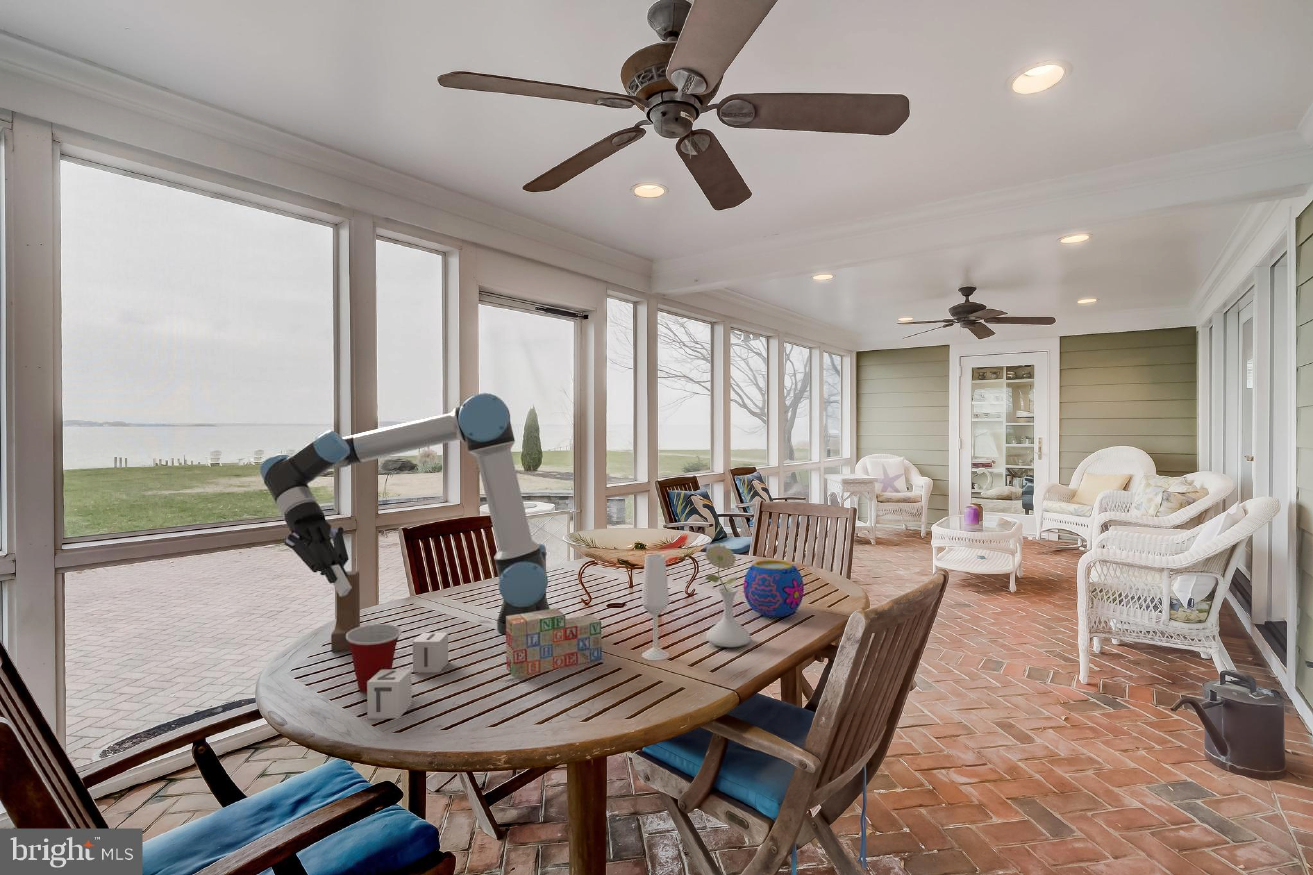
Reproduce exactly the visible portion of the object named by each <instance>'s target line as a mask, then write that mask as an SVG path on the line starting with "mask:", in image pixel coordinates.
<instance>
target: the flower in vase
mask: <svg viewBox="0 0 1313 875" xmlns="http://www.w3.org/2000/svg"><path fill="white" fill-rule="evenodd" d="M734 553H735V552H734V551H733V550H731V548H727V546H726V545H725V544H724V545H720V544H718V543H717V545H716V544H713V545H711V546H708V548H706V551H705V554H704V556H705V557H706V560H707V561H709V562H708V563H709V564H710V565H712V566H714V567H717V575H715V574H712V573H711V574H708V575H707V576H706V577H705V578H704V580H706V581H708V582H709V581H710V582H711V583H712V582H713V583H718V582H719V581H720V582H721V585H722V586H723V587H720V588H718V589H717V591H718V592H719V593H720V595H721V597H722V603H723V616H722V619H720V621H719V622H718V623H716V624H714V626H712V627H711V628H710V629H709V630H708V631H707V632H706V635H705V638H706V640H707V641H708V643H710V644H712V645H714V646H718V647H722V648H739V647H742V646H743V647H744V645H747V644H749V643H750V641H751V639H752V636H751V633H750V632H749V631H748V629H746V628H745V627H744V626H743V625H741V624H740V623H739V622H737V620H736V619H735V617H734V614H733V607H734V600H735V596H736V594H737V593H738V592H739V589H738V588H736V587H731V586H730V587H729V586H726V585H730V584H732V583H735V581H736V580H737V579H738V577H739V576H738V575H737V576H736V577H732V578H730V579H728V580H727V581H726V582H723V580H722V578H721V577H720V576H721V575H720V569H723V570H725V569H730V568H731V567H734V566H735V563H736V561H737V559H736V555H735V554H734Z"/></svg>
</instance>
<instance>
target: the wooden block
mask: <svg viewBox="0 0 1313 875" xmlns="http://www.w3.org/2000/svg"><path fill="white" fill-rule="evenodd" d="M345 571H346V573H347V574H348V577H347V580H348V582H349V584H350V585H351V587H352V588H351V589H350V591H349V592H348V594H347V595H345V596H341V597H340V596H339V594H338V592H337V590H336V589H335V590H336V593H335V594H336V619H335V620H336V622H335V625H334V629H333V631H332V633H331V636H330V640H331V641H330V642H331V643H330V645H331V648H330V650H331V652H342V651H343V652H345V651H350V646H349V643H348V641H347V640H346V634H347V633H348V632H349V631H351V630H353V629H355V628H358V627H361V609H360V608H361V607H360V605H361V603H360V601H361V600H360V599H361V598H360V571H359V570H349V571H347V570H345Z"/></svg>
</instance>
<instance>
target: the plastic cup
mask: <svg viewBox="0 0 1313 875" xmlns="http://www.w3.org/2000/svg"><path fill="white" fill-rule="evenodd" d="M401 634H402V628H400V627H399V626H397V625H393V624H389V623H387V624H386V623H376V624H375V623H374V624H367V625H363V626H361V625H360V627H358V628H355V629H353V630H351V631H349V632H348V633H347V634H346V640H347V641H348V643H349V646H350V650H349V651H350V652H351V658H352V663H353V664H352V665H353V670H354V675H355V677H356V678H355V679H356V681H357V682H356V683H357V688H358V690H359V691H360V692H361V693H367V682H368V681H369V680H370V679H371V678H372V677H373V676H375V675H376V674H377V673H378V672H379V671H380V670H392V669H393V665H394V664H393V663H394V658H395V653H396V652H395V651H396V646H397V644H398V641H399V638H400V636H401Z"/></svg>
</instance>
